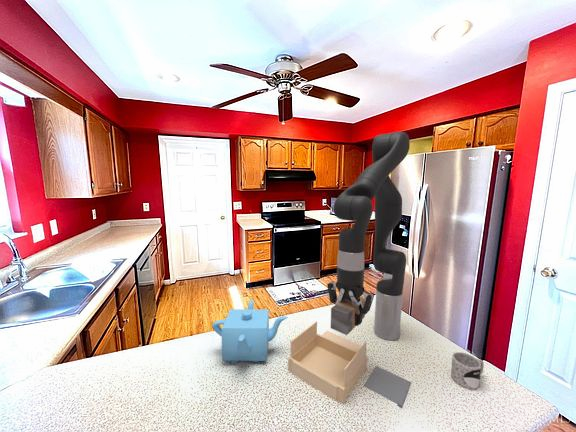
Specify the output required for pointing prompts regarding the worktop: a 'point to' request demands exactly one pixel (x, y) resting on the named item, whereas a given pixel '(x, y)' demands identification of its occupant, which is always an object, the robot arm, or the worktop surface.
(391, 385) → the mat
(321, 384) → the carton
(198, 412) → the worktop surface
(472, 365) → the mug
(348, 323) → the bar
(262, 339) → the teakettle
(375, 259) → the robot arm
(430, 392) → the worktop surface
